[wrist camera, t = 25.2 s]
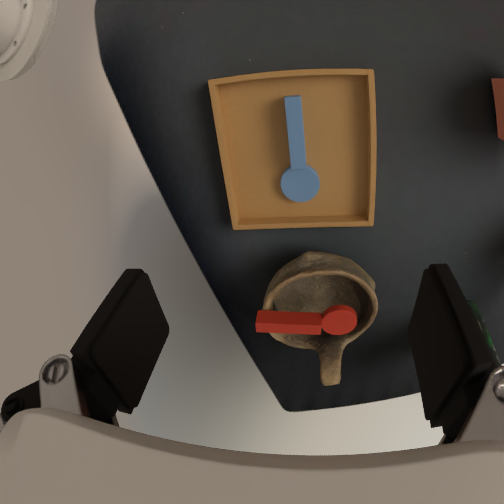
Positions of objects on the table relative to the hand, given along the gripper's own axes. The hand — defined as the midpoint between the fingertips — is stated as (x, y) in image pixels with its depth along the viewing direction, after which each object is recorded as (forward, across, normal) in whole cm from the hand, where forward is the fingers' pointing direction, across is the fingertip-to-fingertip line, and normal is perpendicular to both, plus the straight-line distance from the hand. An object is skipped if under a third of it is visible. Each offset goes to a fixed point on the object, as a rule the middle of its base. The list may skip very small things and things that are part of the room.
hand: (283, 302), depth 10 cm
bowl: (+24, -2, +20) cm, 31 cm away
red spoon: (+17, 0, +18) cm, 24 cm away
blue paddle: (+23, 0, +1) cm, 23 cm away
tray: (+23, 0, +1) cm, 23 cm away
